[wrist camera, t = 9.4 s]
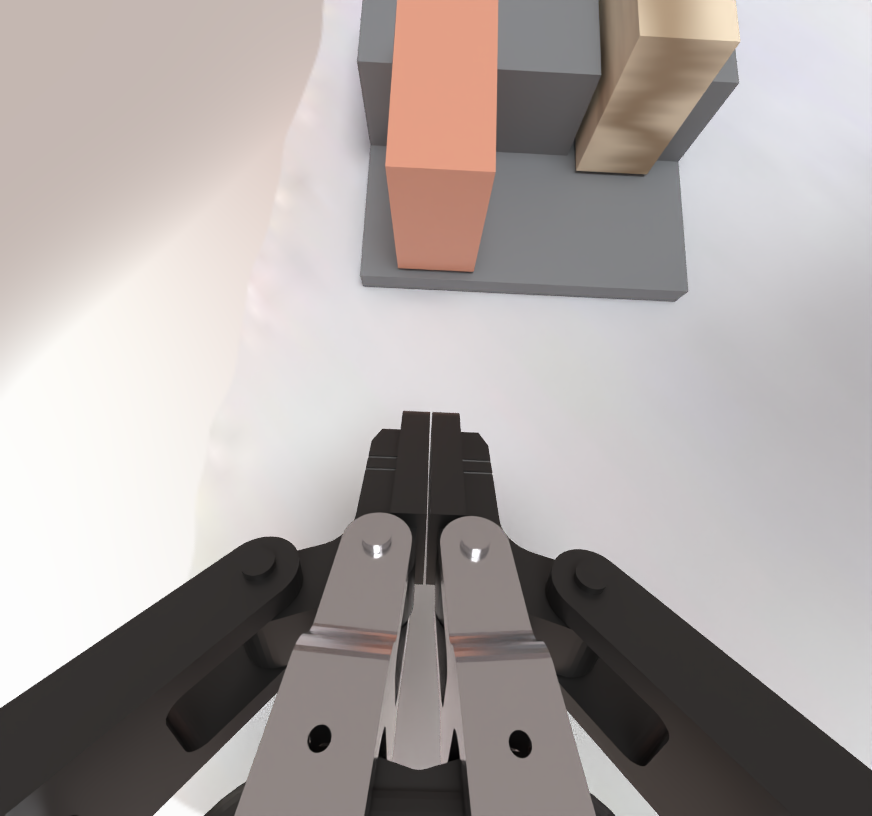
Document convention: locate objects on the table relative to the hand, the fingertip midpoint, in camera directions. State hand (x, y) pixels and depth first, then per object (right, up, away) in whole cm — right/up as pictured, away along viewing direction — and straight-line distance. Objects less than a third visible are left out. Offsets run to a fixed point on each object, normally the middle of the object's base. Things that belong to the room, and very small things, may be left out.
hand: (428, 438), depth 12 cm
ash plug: (+13, +22, +19) cm, 32 cm away
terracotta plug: (0, +15, +17) cm, 23 cm away
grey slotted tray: (+6, +19, +20) cm, 28 cm away
